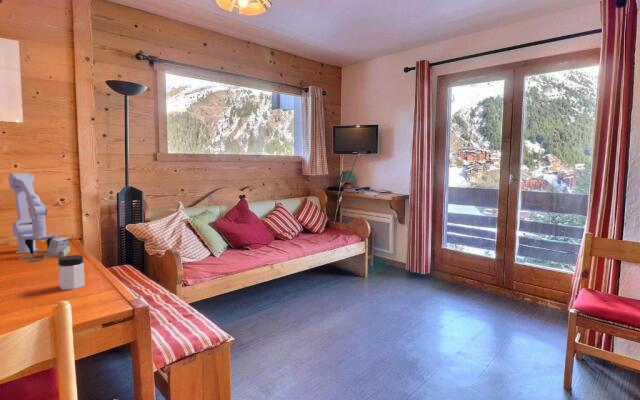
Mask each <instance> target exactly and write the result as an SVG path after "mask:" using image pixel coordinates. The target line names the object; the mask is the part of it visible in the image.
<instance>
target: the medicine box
mask: <svg viewBox="0 0 640 400" xmlns="http://www.w3.org/2000/svg"><path fill="white" fill-rule="evenodd" d="M68 243H69V238H67V237H65V236H58V237H57V238H54V239H51V241H50V244H49V247H47V249H48V251H47V253H46V255H53V254H62V251H63V250H64V249H65V248H66V247H67V246H68Z"/></svg>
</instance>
